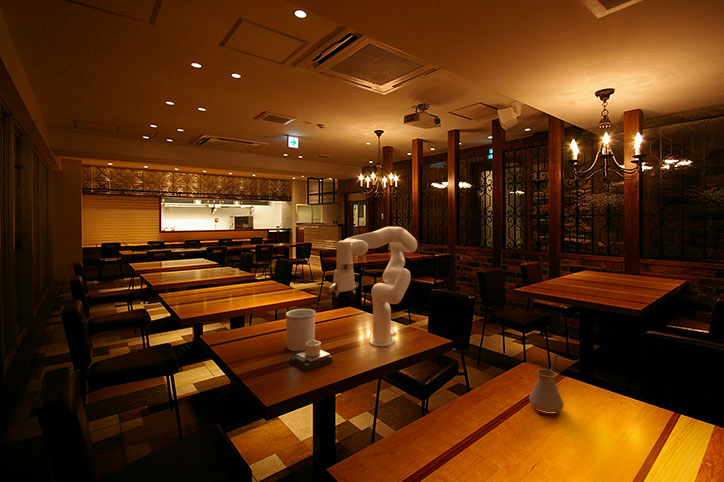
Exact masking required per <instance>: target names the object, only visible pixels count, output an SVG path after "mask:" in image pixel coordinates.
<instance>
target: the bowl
mask: <svg viewBox="0 0 724 482" xmlns="http://www.w3.org/2000/svg"><path fill="white" fill-rule="evenodd" d="M321 345H322V343H321V341H320V340H315V341H309V342H307V343H306V350H305V351H306V355H307V356H317V355H319V354H320V350H322V349H321V347H322V346H321Z"/></svg>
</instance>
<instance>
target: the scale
mask: <svg viewBox="0 0 724 482" xmlns="http://www.w3.org/2000/svg"><path fill="white" fill-rule="evenodd" d="M331 363H333V356H332V355H330V356H327V357H324V358H322V359H319V360H316V361H313V362H308V361H307V360H305V359H303V358H301V357H299V356H296V355H294V356H291V357H289V364H291V365H293V366H294V367H297V368H299V369H301V370H302V371H305V372H308V371H312V370H315V369H317V368H320V367H323V366H325V365H329V364H331Z"/></svg>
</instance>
